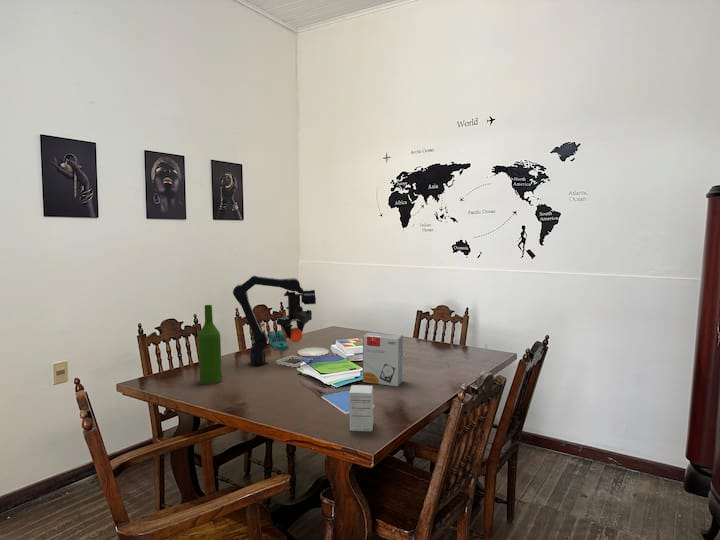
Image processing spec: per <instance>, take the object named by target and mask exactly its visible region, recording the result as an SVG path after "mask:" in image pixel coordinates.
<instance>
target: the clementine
mask: <svg viewBox="0 0 720 540" xmlns="http://www.w3.org/2000/svg"><path fill="white" fill-rule="evenodd" d="M288 339H289V341H291V342H292V343H298V342H300V341H301V340H302V339H303V331H301V330H300V329H298V328H297V327H291V338H288Z"/></svg>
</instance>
